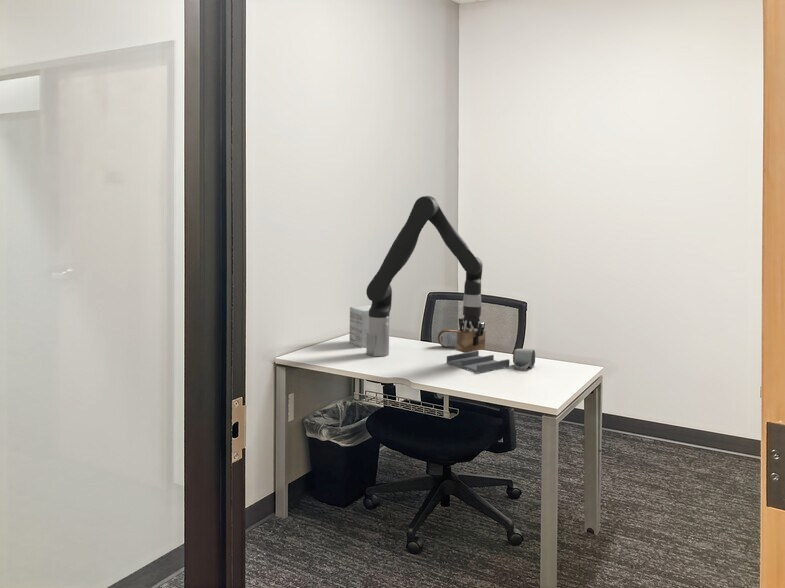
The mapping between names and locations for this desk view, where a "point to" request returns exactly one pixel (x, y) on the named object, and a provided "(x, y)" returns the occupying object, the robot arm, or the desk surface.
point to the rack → (476, 362)
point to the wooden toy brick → (469, 342)
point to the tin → (448, 337)
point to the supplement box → (359, 325)
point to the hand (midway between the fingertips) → (470, 344)
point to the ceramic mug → (524, 358)
